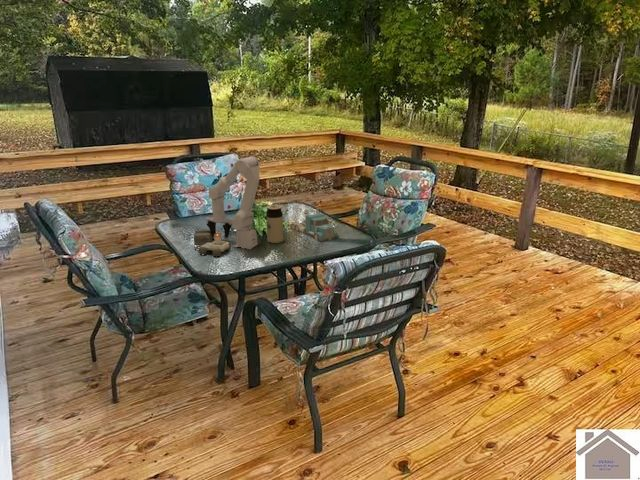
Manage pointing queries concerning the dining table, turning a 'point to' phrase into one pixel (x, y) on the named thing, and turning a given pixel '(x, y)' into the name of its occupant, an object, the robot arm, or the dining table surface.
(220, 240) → the canister with orange lid
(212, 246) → the trolley
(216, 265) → the dining table surface
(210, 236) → the stone block
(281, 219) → the travel mug
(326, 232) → the truck
